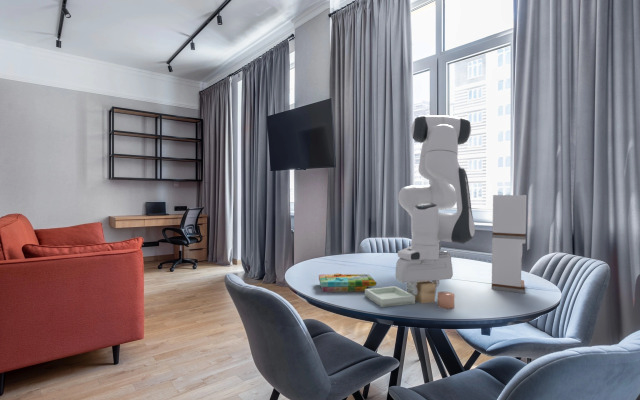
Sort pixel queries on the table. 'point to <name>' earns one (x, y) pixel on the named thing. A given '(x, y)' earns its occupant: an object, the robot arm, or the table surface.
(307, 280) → the table surface
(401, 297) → the sage tray
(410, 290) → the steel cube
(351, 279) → the puzzle game
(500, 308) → the table surface
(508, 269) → the striped white tower
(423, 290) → the oak block
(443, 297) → the terracotta puck
